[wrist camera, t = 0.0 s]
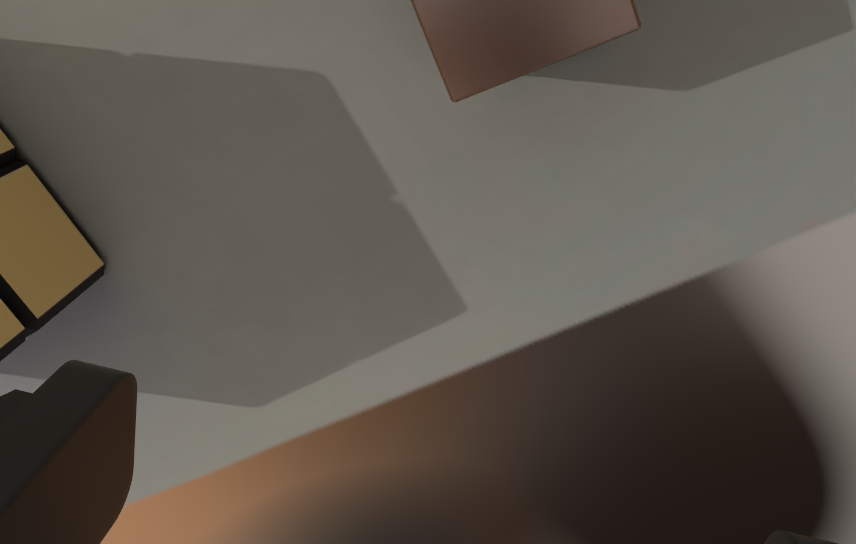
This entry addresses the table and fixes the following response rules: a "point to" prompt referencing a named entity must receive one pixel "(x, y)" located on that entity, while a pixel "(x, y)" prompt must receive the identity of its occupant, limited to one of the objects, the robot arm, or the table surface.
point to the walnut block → (514, 36)
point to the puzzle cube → (36, 253)
